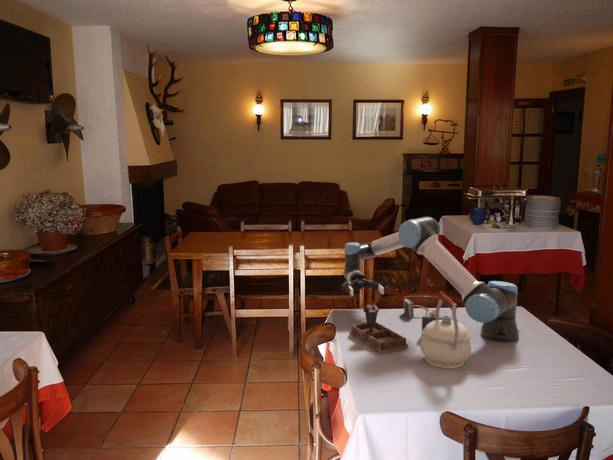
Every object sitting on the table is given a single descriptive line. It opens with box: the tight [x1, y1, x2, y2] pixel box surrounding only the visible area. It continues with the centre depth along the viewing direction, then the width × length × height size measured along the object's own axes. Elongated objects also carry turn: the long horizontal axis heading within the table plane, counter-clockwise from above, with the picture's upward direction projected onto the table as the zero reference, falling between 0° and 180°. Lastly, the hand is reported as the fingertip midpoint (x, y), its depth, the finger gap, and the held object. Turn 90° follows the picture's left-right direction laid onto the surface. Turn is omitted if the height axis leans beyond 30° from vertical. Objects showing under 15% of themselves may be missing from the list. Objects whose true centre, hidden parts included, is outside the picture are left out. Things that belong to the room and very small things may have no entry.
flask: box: [421, 312, 443, 337], centre depth 219 cm, size 9×3×11 cm, turn 87°
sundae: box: [362, 297, 380, 334], centre depth 219 cm, size 7×7×15 cm
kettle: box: [419, 291, 472, 369], centre depth 196 cm, size 25×18×25 cm
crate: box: [349, 321, 409, 355], centre depth 216 cm, size 23×13×4 cm, turn 27°
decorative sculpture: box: [403, 298, 436, 319], centre depth 244 cm, size 16×10×7 cm, turn 75°
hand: (367, 292), depth 227 cm, fingers open, 13 cm apart
